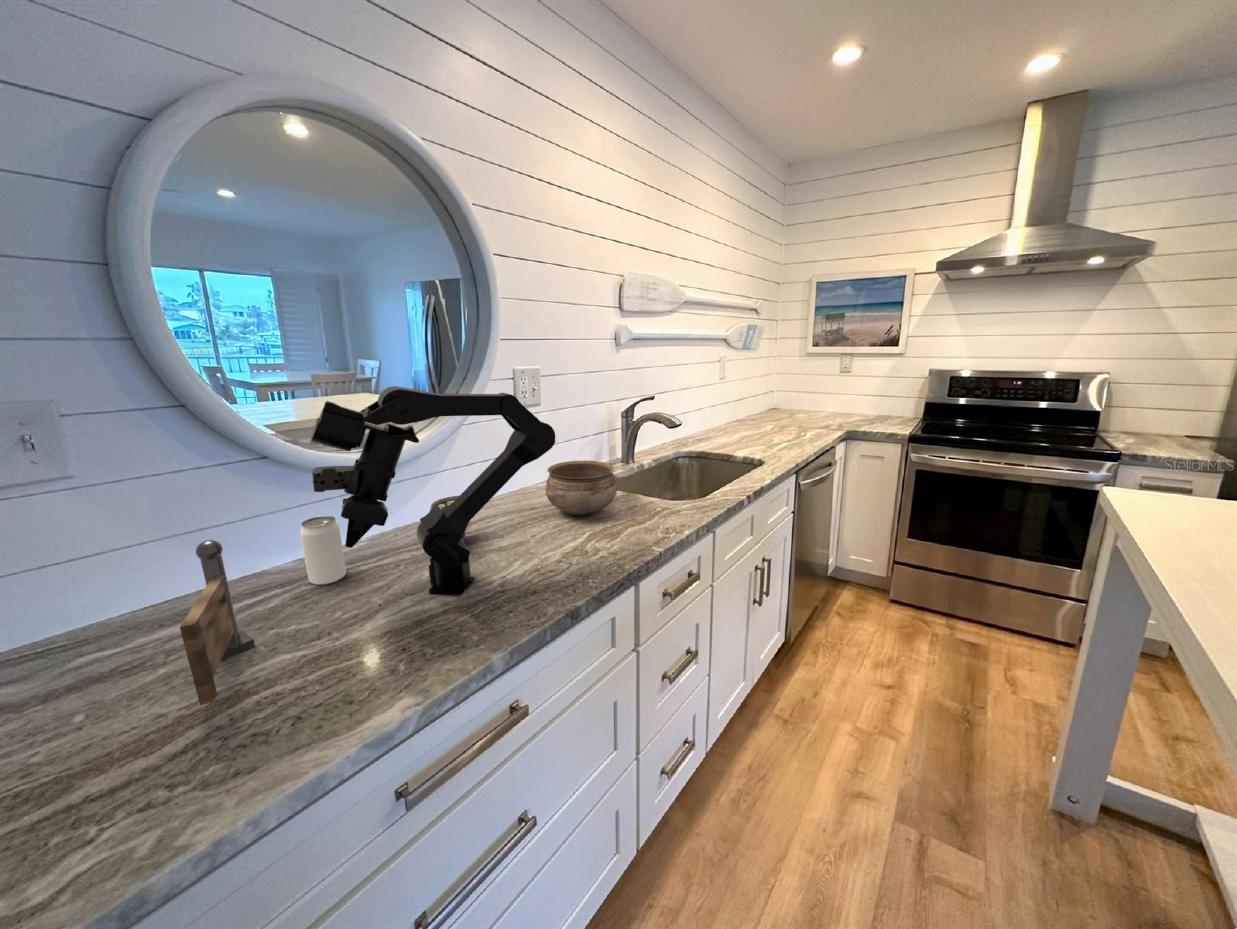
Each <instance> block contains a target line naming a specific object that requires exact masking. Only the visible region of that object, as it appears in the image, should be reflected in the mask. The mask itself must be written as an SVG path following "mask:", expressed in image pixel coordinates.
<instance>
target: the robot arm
mask: <svg viewBox="0 0 1237 929" xmlns="http://www.w3.org/2000/svg"><path fill="white" fill-rule="evenodd" d="M469 416H470V417H473V416H475V417H476V416H477V417H479V416H483V417H484V416H501V417H502V418H503V420H504V421H505V422H506V423H507V424H508V426H509V427H511V429H512V430H513V431H512V433H511V435H510V436H509V439H508V441H507V444H506V446H505V448H504V450H503V451H501V453H500V454H499V455H498V456H497V457H496V458H495V459H494V460H493V461H492V462H491V463H490V464H489V465H488V466H487V467H486V468H485V469H484V470H483V471H482V473H480V474H479V476H477V477H476V478H475V479H474V480H473V481H472V483H471V484H469V485H468V486H467V487H466V489H465V490H463V492H461V494H460V495H458V496H459V497H458V498H457V499H456V500H455V501H454V502H453V503H452V504H450V505H448V506H446V507H444V508H442V509H440V508H439V506H438V505H437V504H436V505H434V506H433V507H432V509H431V510H430V509H429V511H430V512H428V513H427V514H425V515H424V516H422V517H421V518H419V521H420V524H419V525H418V527H417V528H416V538H417V540H418V542H419V544H420V546H421V548H422V549H423V552H424V553H425V554H426V555H427V556H428V557H430V558H429V563H430V564H429V565H428V574H429V575H428V576H429V583H430V585H431V587H430V588H429V589H428V590H427V591H428V594H437V595H449V596H450V595H451V596H462V595H463V594H464V593H465V591H466V590H468V588H469V587H470V586H471V584H472V583H474V581H475V580H476V579H475V576H471V566H470V564H471V563H470V554H471V551H470V550H469V548H468V547H467V546H466V544H465V543H464V540H463V541H462V540H461V539H462V537H463V535H464V533H465V534H466V531H467V528H468V526H469V524H470V522H471V521H472V519H473V518H474V517H475V516H476V515H477V514H478V513H479V512H480V511H481V509H483V508H484V507H485V506H486V505H487V504H488V502H489V501H490V500H491V499H492V498H494V496H495V495H496V494H497V493H499V491H500V490H502V488H503V487H504V486H505V485H506V484H507V482H509V481H510V480H511V479H512V478H513V477H514V476H515V474H517V472H518V471H520V469H521V468H523V467H524V466H525V465H527V464H529V463H532V462H534V461H536V460H538V459H539V458H540V457H542V456H544V455H545V454H547V453H548V452H549V451H550V450H551V449H552V448H553V447H554V445H555V443H556V432H555V429H554V428H553V427H552V425H550V424H548V423H545V422H544V421H541V420H539V418H538V417H537V416H535V415H534V414H533V413H532V411H530V410H529V409H528V408H527V407H525V406H524V404H523V403H521V402H520V401H519V399H518V398H517V396H515V395H514V394H510V393H507V392H500V393H434V392H428V391H424V390H419V389H415V388H414V389H413V388H408V387H403V386H389V387H386V388H384V390H383V391H382V392H380V394H379V396H378V398H377V400H376V401H375V402H373V403H371V404H370V405H368V406H367V407H366V406H365V408H362V409H361V410H360V411H357V410H354V409H351V408H348V407H345V406H341V405H339V404H337V403H335V402H333V401H330V400H326V401H325V402H324V405H323V407H322V409H321V411H320V414H319V417H317V419H316V421H315V424H314V427H313V431H312V433H311V438H310V442H311V443H314V444H318V445H323V446H326V447H330V448H334V449H338V450H342V451H345V452H351V451H352V449H354V450H355V449H356V448H357V449H358V448H360V447H361V445H362V442H363V439H364V437H365V433H366V430H368V432H367V436H366V438H365V442H364V444H363V447H362V450H361V453H360V455H359V457H358V458H356V459H355V461H354V465H333V466H332V465H331V466H317V467H313V469H312V484H313V492H315V493H324V492H325V491H336V490H337V491H338V490H343V492H344V493H346V494H348V495H350V496H349V497H347V498H343V500H342V506H341V513H340V517H341V518H343V519H346V520H348V521H347V528H346V529H347V530H346V536H345V537H346V538H345V547H346V548H350V549H351V548H354V546H355V545H356V544H358V542H359V541H361V539H362V538H363V537H364V536H365V535H366V534H367V533H368V532H369V531H370V530H371V528H373V526H374V525H375V526H378V527H382V526H383V527H384V526H385V524H386V522H387V520H388V517H389V512H388V508H387V505H385V503H386V501H387V499H388V492H389V488H390V485H391V483H392V481H393V479H395V476H396V469H397V466H398V463H399V459H400V457H401V454H402V452H403V449H404V446H405V443H406V441H408V442H410V443H411V442H412V443H415V444H418V443H419V442H420V440H419V438H418V437H417V435H416V433H415V429H414V427H413V426H412V425H408V424H413V423H418V422H419V423H420V422H425V421H427V420H430V419H433V418H439V417H469ZM390 423H392V424H390ZM384 424H385V425H384ZM394 424H395V425H394ZM379 425H384V426H383V427H382V426H379ZM398 425H400V426H398ZM401 425H408V426H406V427H402V426H401ZM384 502H385V503H384Z"/></svg>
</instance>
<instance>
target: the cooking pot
mask: <svg viewBox="0 0 1237 929" xmlns="http://www.w3.org/2000/svg"><path fill="white" fill-rule="evenodd" d="M614 471H615V467H614V466H613V465H612V464H611V463H607V462H602V461H598V460H569V461H564V462H558V463H555V464H551V465H550V466H549V467H547V472H548V474H549V475H548V477H547V479H546V484H545V495H546V497H547V500H548V501H549V503H550V504H552V505H553V507H555V508H556V509H558V510H561V511H562V512H564V513H567V514H568V515H570V516H573V517H577V518H578V517H580V518H585V517H589V516H592V515H594V514H596V513H598V512H600V511H602V510H604V509H605V508H607V507H608V506H609V505H610V504H612V502H613V501H614V499H615V497H616V495H617V491H618V490H617V489H618V485H617V482H616V478H615V475H614V473H613V472H614Z"/></svg>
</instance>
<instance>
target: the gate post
mask: <svg viewBox="0 0 1237 929" xmlns="http://www.w3.org/2000/svg"><path fill="white" fill-rule="evenodd" d="M223 550H224V549H223V546H222V544H221V542H219V541H217V540H213V539H209V540H208V539H207V540H204V541H202V542H201V543H199V544H198V545H197V546H196V549H195V555H196V557H197V558H198V559H199V560H200V564H201V568H202V573H203V576H204V580H205V585H206V586H207V584H208V583H209V581H210V580H211V578H212V577H214V576H220V575H225V580H226V584H227V588H228V593H229V597H230V602H231V606H232V610H233V615H234V619H235V624H236V628H237V633H238V637H239V644H238V646H237V647H234V648H230V649H226V650H225V652H224V655H223V657H222V659H221V661H220V662H222V661H224V660H226V659H228V658H232V657H233V656H236V655H238V654H239V653H242V652H244V651H247V650H249V649H252V648H254V647H255V646H256V645H255V640H254V638H253V637H251V636H250V635H248V633H246V632H245V631H243V630H241V629H240V630H239V626H238V622H237V618H236V613H235V608H234V605H233V604H234V603H233V601H232V595H231V592H230V586H229V582H228V577H227V573H226V568H225V565H224V560H223V556H222V554H223ZM206 586H205V587H206Z"/></svg>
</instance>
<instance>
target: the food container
mask: <svg viewBox="0 0 1237 929" xmlns="http://www.w3.org/2000/svg"><path fill="white" fill-rule="evenodd" d="M459 496H460V495H453V496H452V495H451V496H448V497H443V498H440V499H437V500H435V501H433V502H432V503H431V505H430V507H429V512H430V510H431V509H432V507H433V506H434V505H436V504H437V505H438V506H439V508H440V509H442V508H444V507H446V506H448V505H450V504H452V503H453V502H454V501H455V500H456V499H457V498H458V497H459ZM429 512H428V513H429ZM465 538H466V532H465V533H464V535H463V537H462V539H461V540H462V541H463V542H464V540H465Z"/></svg>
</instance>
